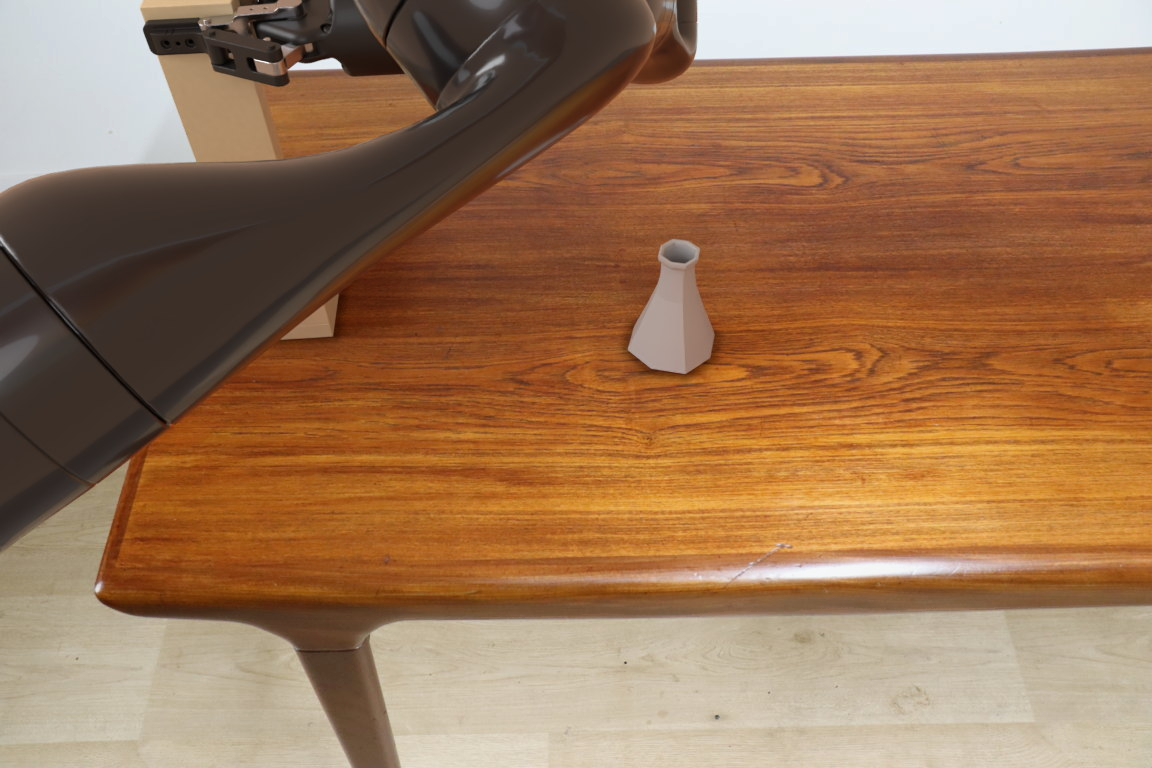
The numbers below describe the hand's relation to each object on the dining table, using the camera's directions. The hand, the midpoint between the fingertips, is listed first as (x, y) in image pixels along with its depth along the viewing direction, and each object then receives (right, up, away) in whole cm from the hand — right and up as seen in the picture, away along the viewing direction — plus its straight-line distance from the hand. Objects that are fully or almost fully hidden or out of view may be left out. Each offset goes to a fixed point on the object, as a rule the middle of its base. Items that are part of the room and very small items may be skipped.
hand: (153, 29), depth 64 cm
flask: (+37, -21, +16) cm, 45 cm away
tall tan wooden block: (+3, -9, +10) cm, 13 cm away
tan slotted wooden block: (+3, -15, +21) cm, 27 cm away
